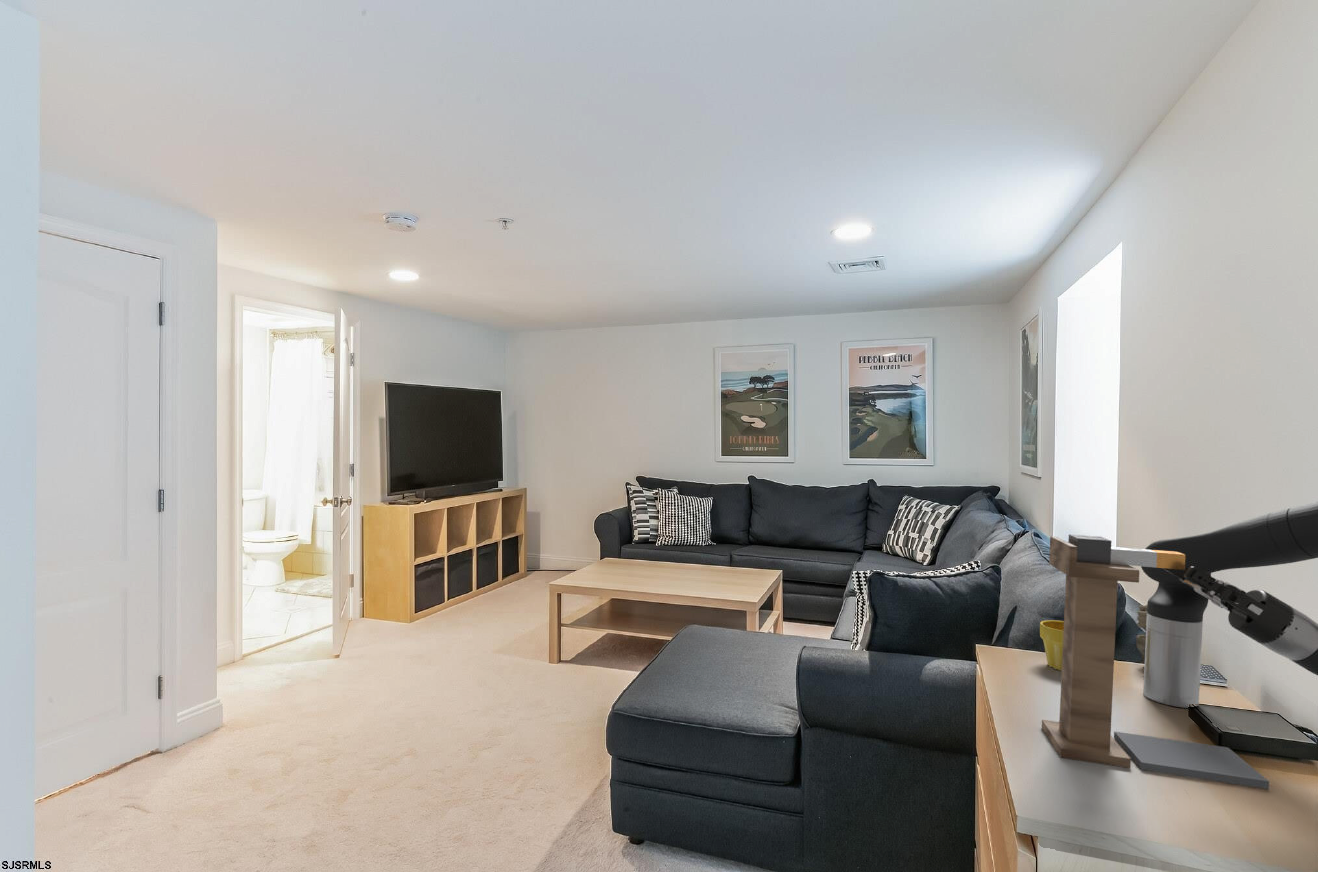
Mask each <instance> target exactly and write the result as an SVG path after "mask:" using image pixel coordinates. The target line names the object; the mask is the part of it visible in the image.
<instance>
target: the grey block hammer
mask: <svg viewBox="0 0 1318 872" xmlns="http://www.w3.org/2000/svg"><path fill="white" fill-rule="evenodd" d="M1067 542H1068V543H1070V544H1072V545H1074V546H1076V547H1077V562H1084V563H1096V564H1108V565H1110V564H1119V565H1129V566H1131V567H1133V566H1135V567H1141V566H1143V567H1156V568H1168V569H1180V570H1185V554H1182V553H1179V552H1174V551H1160V550H1147V549H1145V548H1132V547H1131V548H1130V547H1118V546H1117V547H1116V546H1112V540H1110V539H1108V538H1106V537H1102V536H1097V535H1085V534H1084V535H1083V534H1071V533H1070V534H1068V541H1067Z"/></svg>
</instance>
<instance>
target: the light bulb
mask: <svg viewBox="0 0 1318 872" xmlns="http://www.w3.org/2000/svg"><path fill="white" fill-rule="evenodd" d="M1138 608H1139V610H1137V612H1136V613H1137V615H1138V616H1137V617H1136V619H1137V621H1138V622H1137V627H1138V628H1141V629H1143V630H1144V631H1145V632H1146V623H1147V604H1146V605H1139V606H1138ZM1145 646H1146V633H1144V634H1138V635H1137V634H1136V648H1137V650H1138V651H1139V653H1140V656H1141V663H1142V664H1143V665H1145Z"/></svg>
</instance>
